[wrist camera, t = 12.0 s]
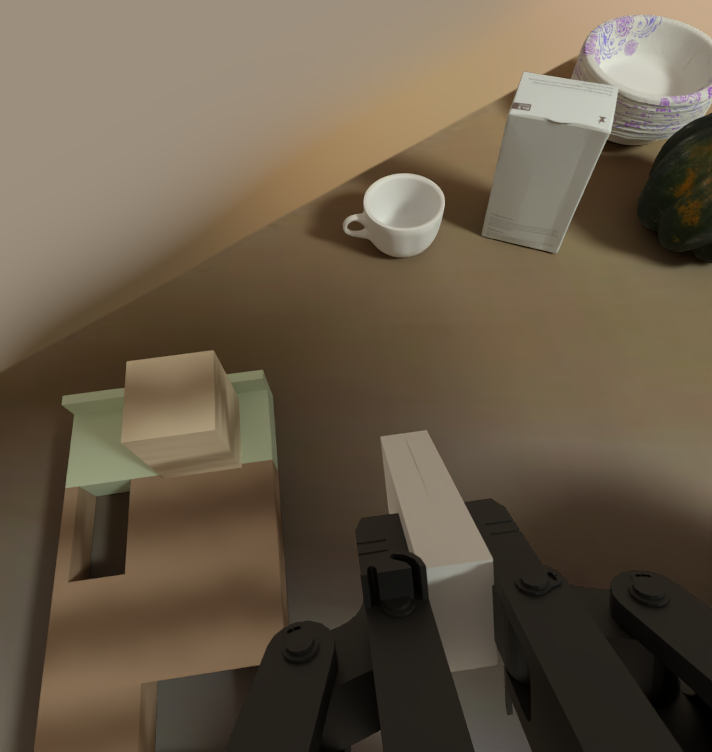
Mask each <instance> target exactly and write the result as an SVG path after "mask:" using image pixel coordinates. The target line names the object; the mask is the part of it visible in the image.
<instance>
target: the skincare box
mask: <svg viewBox="0 0 712 752" xmlns="http://www.w3.org/2000/svg"><path fill="white" fill-rule="evenodd" d="M618 89H619V87H618V86H612V85H606V84H599V83H592V82H585V81H579V80H572V79H566V78H560V77H554V76H547V75H541V74H535V73H530V72H523V75H522V78H521V80H520V83H519V86H518V88H517V91H516V94H515V97H514V99H513V102H512V105H511V108H510V110H509V113H508V116H507V121H506V125H505V130H504V135H503V139H502V144H501V148H500V153H499V157H498V162H497V166H496V171H495V175H494V180H493V184H492V189H491V193H490V198H489V202H488V207H487V211H486V216H485V220H484V225H483V230H482V234H481V235H482V236H484V237H488V238H492V239H497V240H501V241H505V242H509V243H514V244H518V245H522V246H527V247H531V248H535V249H539V250H544V251H548V252H552V253H557V252H558V250H559V248H560V245H561V243H562V241H563V238H564V236H565V234H566V231H567V229H568V227H569V224H570V222H571V220H572V218H573V215H574V213H575V211H576V208H577V206H578V204H579V202H580V199H581V197H582V195H583V193H584V190H585V188H586V186H587V183H588V181H589V179H590V177H591V174H592V172H593V170H594V168H595V165H596V163H597V161H598V159H599V156H600V154H601V152H602V149H603V147H604V145H605V143H606V141H607V139H608V137H609V135H610V133H611V129H612V124H613V119H614V113H615V107H616V102H617V95H618Z"/></svg>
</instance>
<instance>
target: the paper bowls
mask: <svg viewBox="0 0 712 752" xmlns="http://www.w3.org/2000/svg"><path fill="white" fill-rule="evenodd" d="M571 79H572V80H579V81H585V82H592V83H599V84H606V85H612V86H618V87H619V89H618V95H617V102H616V107H615V113H614V119H613V124H612V129H611V133H610V135H609V137H608V139H607V140H609V141H612V142H615V143H619V144H624V145H644V144H649V143H652V142H655V141H657V140H662V139H668V138H670V137H671V136H672V135H673V134H674V133H676V132H677V131H678V130H680V129H681V128H683V127H684V126H685V125H686V124H688V123H689V122H691V121H693V120H695V119H697V118H700V117H703V116H704V115H705V113H706V112H707V110H708V109H709V107H710V106H711V104H712V38H710V37H709V36H708V35H706V34H705V33H703V32H702V31H700V30H698V29H696V28H695V27H692V26H690V25H688V24H686V23H683V22H680V21H677V20H674V19H670V18H665V17H659V16H652V15H631V16H623V17H619V18H615V19H612V20H609V21H607V22H605V23H603V24H601V25H599V26H598V27H596V28H595V29H594V30H593V31H592V32H591V33H590V34H589V35H588V37H587V38H586V40H585V41H584V44H583V46H582V48H581V52H580V54H579V57H578V61H577V63H576V65H575V68H574V71H573V74H572V77H571Z"/></svg>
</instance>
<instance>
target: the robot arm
mask: <svg viewBox="0 0 712 752" xmlns="http://www.w3.org/2000/svg"><path fill="white" fill-rule="evenodd" d="M380 438H381V447H382V456H383V465H384V474H385V483H386V492H387V502H388V511H389V514H388V515H381V516H374V517H367V518H362V519H361V521H360V522H359V524H358V526H357V528H356V530H355V531H356V539H357V547H358V555H359V563H360V571H361V582H362V590H363V604H362V607H361V609H360V610H359V612H358V613H357V614H356V616H355V617H353V618H352V619H351V620H350V621H349V622H347V623H345V624H343V625H342V626H340V627H337V628H335V629H333V630H330V629H328V628H327V627H325V626H324V625H322V624H321V623H317V622H312V621H304V622H296V623H294V624H291V625H289V626H286V627H284V628H283V629H281V630H280V631H279V632H278V633H277V634H275V635H274V636H273V638H272V639H271V641H270V642H269V644H268V645H267V648H266V650H265V653H264V655H263V658H262V660H261V663H260V665H259V668H258V670H257V673H256V675H255V678H254V680H253V683H252V685H251V688H250V690H249V693H248V695H247V698H246V700H245V703H244V705H243V708H242V710H241V713H240V715H239V718H238V720H237V723H236V725H235V728H234V730H233V733H232V735H231V738H230V740H229V743H228V745H227V748H226V750H225V752H351V745H353V744H355V743H357V742H359V741H360V740H362V739H364V738H366V737H368V736H370V735H372V734H374V733H376V732H378V731H379V730H381V736H382V743H383V751H384V752H475V751H474V748H473V745H472V741H471V738H470V735H469V731H468V728H467V725H466V721H465V718H464V715H463V711H462V708H461V705H460V701H459V698H458V695H457V691H456V688H455V685H454V681H453V678H452V675H451V672H456V671H463V670H469V669H476V668H482V667H489V666H495V665H497V648H498V650H499V652H500V655H501V657H502V660H503V662H504V674H505V701H506V710H507V715H511V714H513V711H512V702H513V705H514V707H515V710H516V712H517V715H518V717H519V720H520V722H521V725H522V727H523V730H524V732H525V735H526V737H527V740H528V742H529V745H530V747H531V750H532V752H712V609H711V608H710V607H708V606H707V605H705V604H704V603H703V602H701V601H700V600H698V599H697V598H696V597H694V596H693V595H691V594H690V593H689V592H687V591H686V590H684V589H683V588H682V587H680V586H679V585H677V584H676V583H674V582H673V581H671V580H669V579H667V578H665V577H663V576H661V575H658V574H654V573H651V572H648V571H635V570H633V571H628V572H622V573H620V574H619V575H617V576H616V577H614V578H613V580H612V583H611V585H610V590H604V589H593V588H584V587H578V586H574V585H570V584H569V583H568V582H567V580H566V579H565V578H564V577H563V576H562V575H561V574H560V573H559V572H558V571H556V570H554V569H552V568H550V567H548V566H545V565H542V563H541V562H540V560H539V559H538V557H537V556H536V554H535V553H534V551H533V550H532V548H531V546H530V545H529V543H528V542H527V540H526V539H525V537H524V536H523V534H522V533H521V532H520V531H519V528H518V526H517V525H516V523H515V522H513V519H512V517H511V516H510V514H509V513H508V511H507V510H506V508H505V507H504V506H502V505H500V504H499V503H497V502H496V501H494V500H493V499H484V500H477V501H470V502H463V500H462V498H461V496H460V494H459V492H458V490H457V488H456V486H455V484H454V482H453V480H452V478H451V476H450V475H449V473H448V471H447V469H446V467H445V465H444V463H443V461H442V459H441V457H440V455H439V453H438V451H437V449H436V447H435V446H434V444H433V442H432V440H431V438H430V436H429V434H428V432H427V430H425V431H418V432H410V433H403V434H396V435H388V436H381V437H380Z"/></svg>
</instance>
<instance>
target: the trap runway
mask: <svg viewBox="0 0 712 752" xmlns="http://www.w3.org/2000/svg"><path fill="white" fill-rule="evenodd" d="M95 507H96V496H95V495H93V494H91V493H90V492H88V491H86V490H84V489H82V488H80V487H79V486H78V487H71V488H65V495H64V504H63V512H62V520H61V528H60V537H59V545H58V553H57V561H56V570H55V578H54V586H53V595H52V603H51V611H50V619H49V628H48V636H47V644H46V652H45V661H44V669H43V677H42V686H41V694H40V702H39V710H38V719H37V727H36V735H35V743H34V752H155V741H156V710H157V681H160V680H167V679H173V678H179V677H186V676H192V675H199V674H205V673H211V672H218V671H224V670H231V669H237V668H243V667H250V666H256V665H260V663H261V660H262V658H263V655H264V653H265V650H266V648H267V645H268V644H269V642H270V641H271V639H272V638H273V636H274V635H275V634H277V633H278V632H279V631H280V630H281V629H283V628H284V627H286V626H289V615H288V601H287V587H286V573H285V559H284V545H283V531H282V517H281V503H280V489H279V475H278V470H277V468H276V466H275V464H274V462H273V460H266V461H258V462H251V463H244V464H242V468H235V469H228V470H221V471H214V472H207V473H199V474H192V475H185V476H178V477H171V478H163V477H162V476H161V475H157V476H150V477H143V478H136V479H131V484H130V500H129V516H128V532H127V548H126V564H125V574H123V575H116V576H109V577H102V578H95V579H89V572H90V561H91V550H92V540H93V529H94V518H95Z"/></svg>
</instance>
